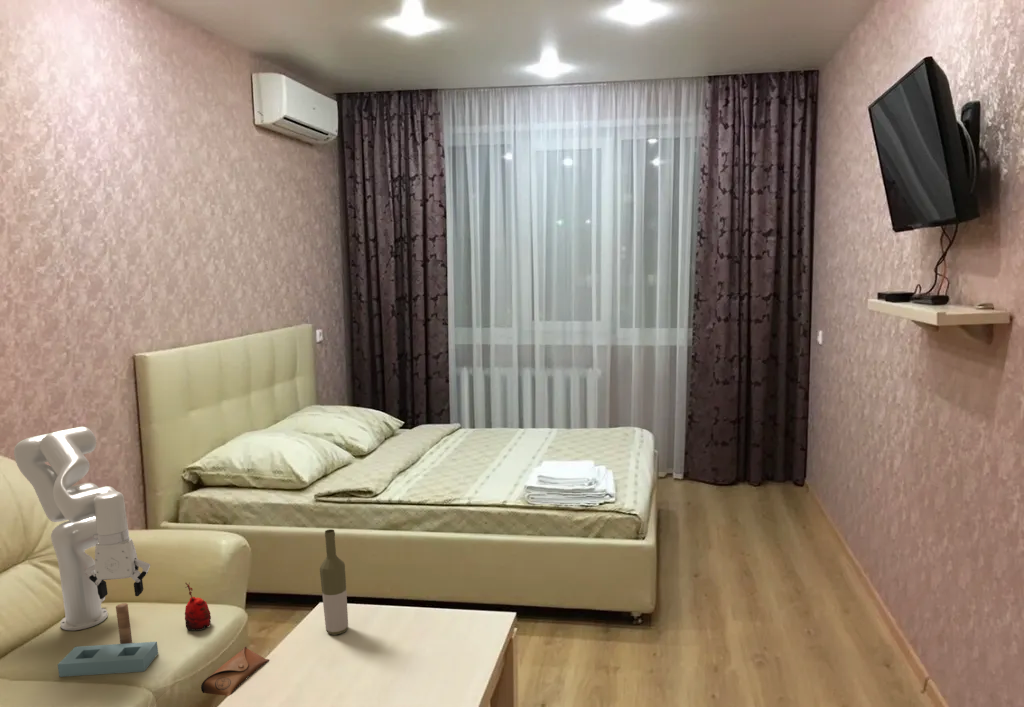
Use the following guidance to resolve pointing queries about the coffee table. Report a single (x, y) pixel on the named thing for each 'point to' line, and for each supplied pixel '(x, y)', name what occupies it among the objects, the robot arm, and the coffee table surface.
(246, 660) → the sunglasses case
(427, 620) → the coffee table surface
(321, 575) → the bottle
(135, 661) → the hole block
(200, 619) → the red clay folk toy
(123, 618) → the peg
